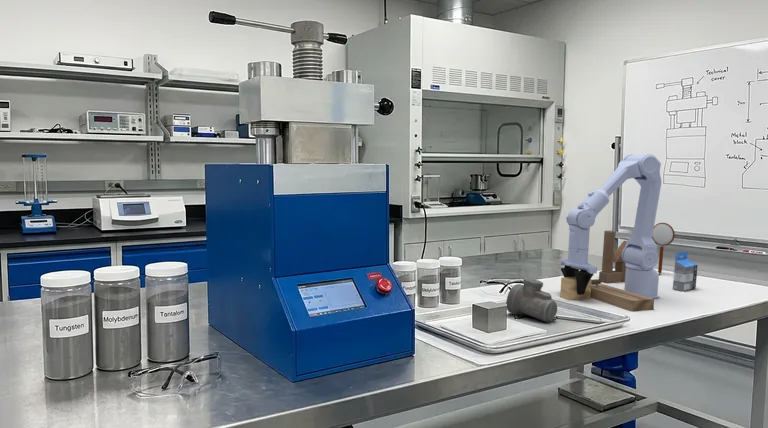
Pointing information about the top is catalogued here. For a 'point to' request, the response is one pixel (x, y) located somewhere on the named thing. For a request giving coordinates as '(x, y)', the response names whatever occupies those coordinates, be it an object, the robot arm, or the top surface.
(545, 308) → the grey electric motor
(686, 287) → the label tape cartridge
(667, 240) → the magnifying glass
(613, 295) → the walnut plank
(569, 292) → the light wood pillar
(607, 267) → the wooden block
